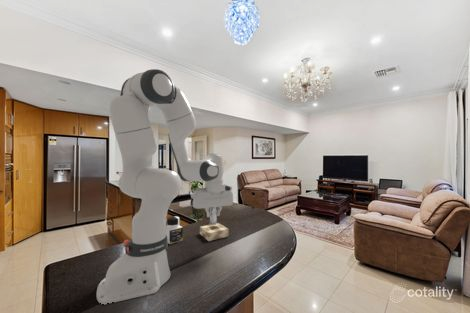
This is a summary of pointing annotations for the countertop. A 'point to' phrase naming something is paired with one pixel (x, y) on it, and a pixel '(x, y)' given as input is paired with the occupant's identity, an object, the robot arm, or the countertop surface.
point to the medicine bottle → (174, 230)
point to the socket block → (214, 231)
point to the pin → (213, 215)
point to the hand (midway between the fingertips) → (213, 216)
